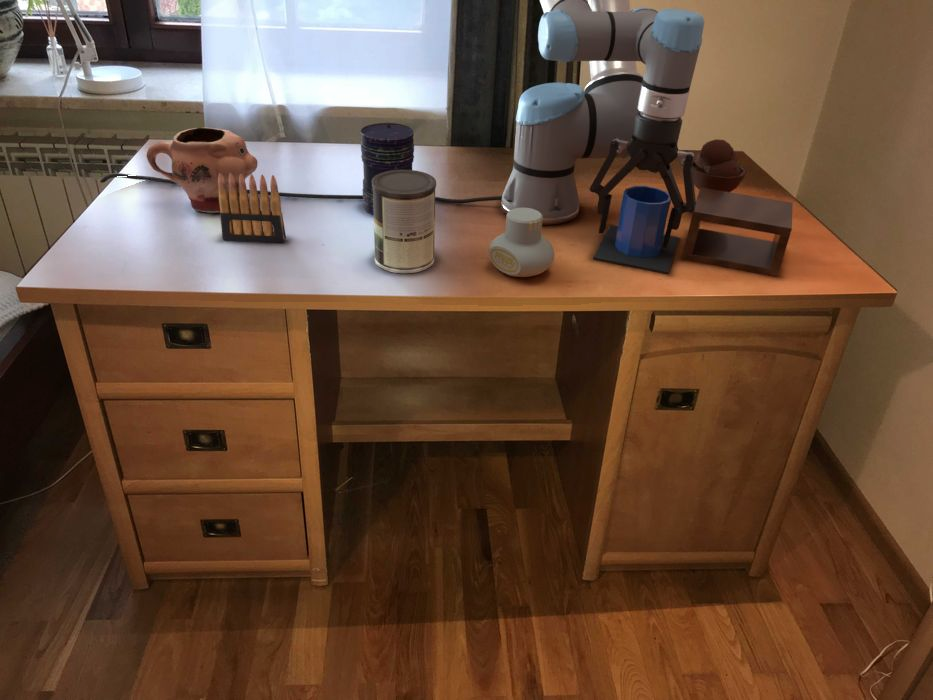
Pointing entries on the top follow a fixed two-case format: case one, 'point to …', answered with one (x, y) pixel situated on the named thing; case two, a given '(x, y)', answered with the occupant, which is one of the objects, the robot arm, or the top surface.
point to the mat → (656, 263)
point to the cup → (642, 221)
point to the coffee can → (404, 220)
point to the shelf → (734, 247)
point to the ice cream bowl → (717, 167)
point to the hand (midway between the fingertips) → (633, 237)
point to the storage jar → (384, 153)
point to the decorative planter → (204, 163)
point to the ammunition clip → (250, 211)
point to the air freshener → (522, 245)
